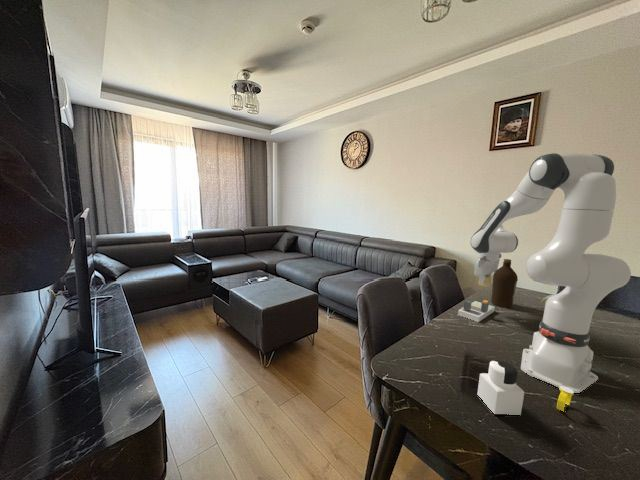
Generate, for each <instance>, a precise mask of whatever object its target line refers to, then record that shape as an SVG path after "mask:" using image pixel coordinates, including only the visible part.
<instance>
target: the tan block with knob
mask: <svg viewBox="0 0 640 480" xmlns="http://www.w3.org/2000/svg"><path fill="white" fill-rule="evenodd" d="M491 282H492V275H491V276H489V275H486V277H485V283H484V284H482V283H480V277H479V276H478V284H477V285H478V286H482V287H484V288H488V287H490V286H491Z"/></svg>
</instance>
